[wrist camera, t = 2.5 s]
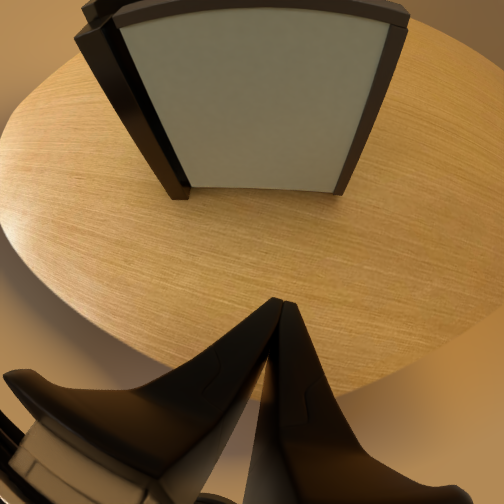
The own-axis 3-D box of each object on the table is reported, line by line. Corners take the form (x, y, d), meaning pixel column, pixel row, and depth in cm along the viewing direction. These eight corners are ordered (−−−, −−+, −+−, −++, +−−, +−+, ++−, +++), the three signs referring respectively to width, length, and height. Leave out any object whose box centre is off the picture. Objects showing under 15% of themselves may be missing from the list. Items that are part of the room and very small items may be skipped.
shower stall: (339, 206, 23) (421, 5, 6) (165, 200, 24) (55, 28, 7) (328, 97, 27) (351, -51, 10) (193, 95, 28) (153, -44, 11)
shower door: (342, 196, 21) (413, 15, 6) (191, 189, 22) (111, 16, 7) (341, 183, 22) (404, 5, 7) (193, 177, 23) (122, 6, 8)
